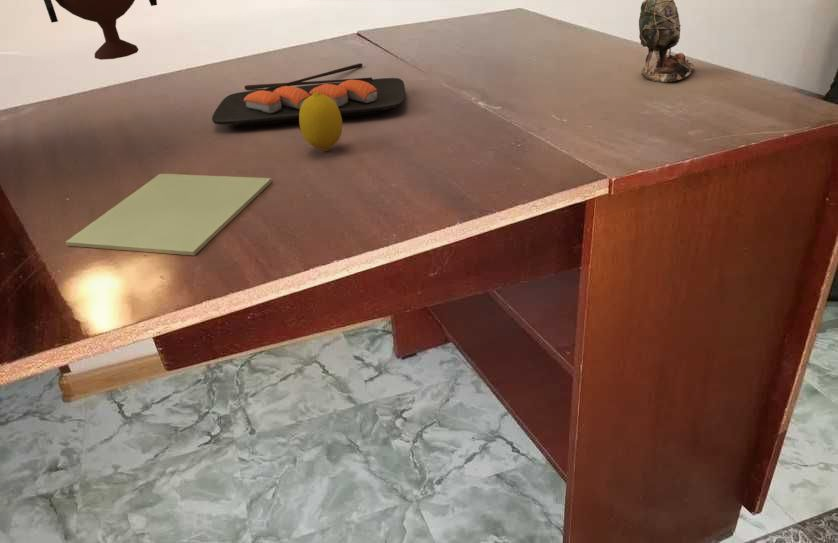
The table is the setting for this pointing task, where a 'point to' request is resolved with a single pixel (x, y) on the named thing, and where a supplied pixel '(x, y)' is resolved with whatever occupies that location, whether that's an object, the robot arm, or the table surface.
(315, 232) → the table surface
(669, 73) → the plant with pod
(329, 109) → the lemon
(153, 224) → the placemat
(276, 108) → the sushi plate
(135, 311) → the table surface
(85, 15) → the ice cream bowl
